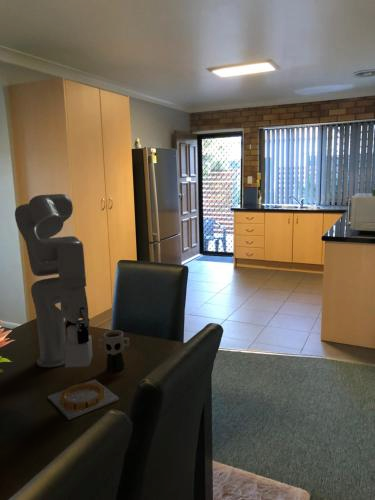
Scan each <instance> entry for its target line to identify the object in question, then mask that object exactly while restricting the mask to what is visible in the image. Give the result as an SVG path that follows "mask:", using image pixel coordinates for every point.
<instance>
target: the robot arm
mask: <svg viewBox="0 0 375 500" xmlns="http://www.w3.org/2000/svg"><path fill="white" fill-rule="evenodd" d="M73 211H74V206H73V203H72V200H71V198H70V197H69V196H68V195H66V194H65V193H64V194H63V193H56V194H52V193H51V194H40V195H36V196H33V197H32V198H31V199H30V200H29V202H28V203H24V204H21V205H18V206H17V207H16V208H15V211H14V219H15V223H16V227H17V228H18V230H19V233H20V234H21V236H22V237H23V240H24V242H25V245H26V250H27V257H28V260H29V261H28V262H29V265H30V269H31V272H32V274H33V275H34V276H36V277H47V276H54V277H50V278H44V279H39V280H36V281H35V282H34V283H32V284H31V285H32V286H31V288H30V293H31V298H32V301H33V305H34V308H35V315H36V324H37V334H38V343H39V352H40V353H39V354H40V356H38V358H36V364H37V366H39V367H42V368H55V367H60V366H63V365H65V359H64V346H63V345H64V343H65V341H66V340H67V336H66V335H67V331H66V327H67V326H68V325H69V324H71V323H76V324H77V327H78V331H77V336H78V344H83V343H86V342H89V335H90V334H89V328H90V327H89V325H90V317H89V304H88V298H87V292H86V287H87V277H86V264H85V252H84V244H83V243H84V242H82V240H79V238H78V237H77V236H73V235H69V236H61V237H60V236H58V237H54V236H56V235H57V234H59V233H60V232H61V231H62V229H63V228H64V224H65V222H66V221H67V220H69V219H70V217H72V214H73ZM55 275H58V276H57V277H55ZM57 304H60V308H59V307H58V306H56V305H57ZM81 322H82V325H81V326H80V323H81Z"/></svg>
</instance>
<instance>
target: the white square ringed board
mask: <svg viewBox="0 0 375 500" xmlns="http://www.w3.org/2000/svg"><path fill="white" fill-rule="evenodd" d="M47 397H48V398H47V399H48V400H49V401H50V402H51V404H53V405H54V407H56V408H57V409H58V411H60V412H61V413H62V415H63V416H64V417H66V418H67V420H68V421H70V420H72V419H75V418H78V417H80V416H83V415H85V414H88V413H90V412H92V411H95V410H98V409H101V408H102V407H105V406H107V405H110V404H112V403H115V402H117V401H119V400H120V399H119V396H118V395H116V394H115V393H113V392H112V391H111V390H110V389H108V388H107V387H106V386H105V385H103V384H102V383H100V381H98V380H97V379H96V378H95V379H92V380H89V381H86V382H82V383H81V382H80V383H77V384H75V385H72V386H71V385H70V386H69V387H67V388H66V389H63V390H60V391H57V392H55V393H52V394H50V395H47Z"/></svg>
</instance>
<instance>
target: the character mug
mask: <svg viewBox="0 0 375 500" xmlns="http://www.w3.org/2000/svg"><path fill="white" fill-rule="evenodd" d="M102 337H103V338H101V339H98V340H97V341H98V342H97V343H98V344H97V345H98V348H99V349H104V352H105V353H106V354H107V355H106V356H107V357H106V369H107V370H108V371H111V372H112V371H114V369H115V371H120V370H122V369H124V367H125V362H124V361H125V360H124V356H123V353H122V352H123V351H125V347H130V337H124V332H123V331H122V330H118V329H117V330H110V331H109V330H108V331H105V332H104V333H103V334H102ZM125 341H126V343H125ZM102 343H103V344H102Z"/></svg>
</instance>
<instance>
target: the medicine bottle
mask: <svg viewBox="0 0 375 500" xmlns="http://www.w3.org/2000/svg"><path fill="white" fill-rule="evenodd" d="M82 323H83V322H81V323H80V326H81V325H82ZM66 331H67V334H66V341H65V343H64V345H63V346H64V359H65V364H64V367H65V368H77V367H78V368H79V367H80V368H81V367H89V366H90V365H91V362H92V359H93V341H92V335H91V334H89V342H86V343H83V344H78V336H77V331H78V327H77V324H76V323H71V324H69V325H68V326H67V327H66V326H65V332H66Z"/></svg>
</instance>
